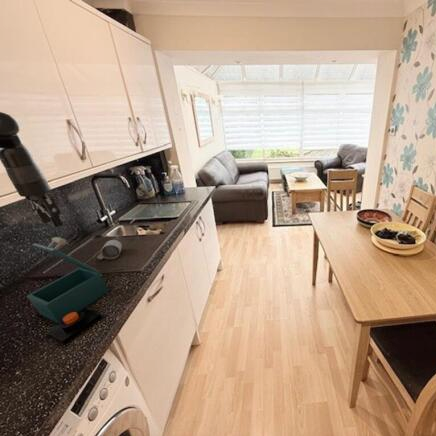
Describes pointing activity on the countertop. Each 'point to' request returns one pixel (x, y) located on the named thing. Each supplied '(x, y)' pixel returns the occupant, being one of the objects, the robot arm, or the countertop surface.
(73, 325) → the panel
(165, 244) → the countertop surface
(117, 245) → the ceramic mug
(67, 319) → the button
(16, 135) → the robot arm
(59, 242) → the bin lid
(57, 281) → the bin
